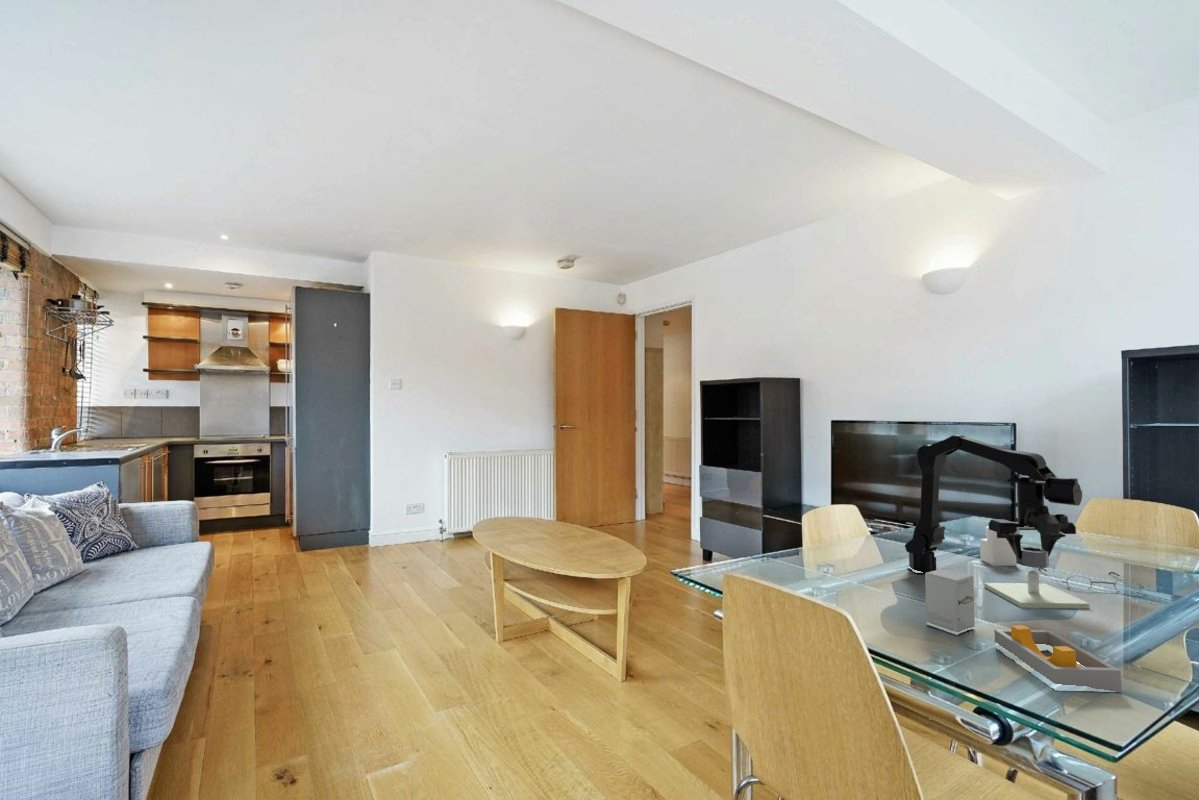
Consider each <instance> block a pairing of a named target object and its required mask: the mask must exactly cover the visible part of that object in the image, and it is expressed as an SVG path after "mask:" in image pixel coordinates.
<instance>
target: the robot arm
mask: <svg viewBox="0 0 1199 800" xmlns="http://www.w3.org/2000/svg"><path fill="white" fill-rule="evenodd" d="M957 451H962V452H965V453H968V454H971V455H975V456H977V457H979V458H983V459H986V460H990V461H993V462H995V463H998V464H1001V465H1003V467H1005V468H1007V469H1008V470H1010V471H1012V472H1014V473H1013V474H1012V476H1011V477H1009V478H1008V479H1007V480H1006V481H1007V483H1011V484H1013V483H1015V484H1016V499H1017V500H1016V502H1014V503H1013V505H1014V507H1016V508H1017V509H1016V510H1017V516H1016V517H1015V516H1014V522H1013V521H1010V520H1007V519H1002V518H1000V519H990V520H989V522H988V526H989V529H990V530H992V531H995V532H998V533H1001V534H1003V535H1004V536H1005V538H1006V539H1007V541H1008V542H1009V544H1010V546H1011V548H1012V550H1013V552H1014V554H1015V556H1016V557H1017V558H1018V559H1021V546H1022V545H1021V544H1022V543H1021V540H1022V539H1023V536H1024V535H1023V534H1020V531H1037V532H1038V533H1039V536H1040V543H1041V544H1040V545H1041V548H1042V549H1045V550H1048V555H1049V557H1050V555H1051V553H1052V551H1053V548H1054V546H1055V544H1056V543H1057V541H1059V540H1060V539H1061V538H1065V537H1066V535H1076V534H1077V527H1076V525H1075V524H1074V523H1073V522H1070V521H1069V518H1068V516H1067V515H1066V514H1065V513H1056V514H1051V513H1050V512H1049V507H1048V505H1045V500H1047V501H1048V502H1049V503H1051V504H1060V505H1066V506H1067V505H1068V506H1076V507H1078V506H1080V505H1081V503H1082V500H1083V490H1082V489H1081V486H1080V484H1079V479H1078V478H1077V477H1069V478H1066V477H1065V478H1064V477H1058V476H1056V474H1055V473H1054V472H1053V471H1052V470H1051V469H1050V468H1049V466H1047V462H1046V460H1045V458H1044V456H1042V455H1041V454H1038V453H1035V452H1029V451H1022V450H1021V451H1020V450H1012V449H1006V448H1003V447H999V446H996V445H993V444H990V443H986V442H984V441H980V440H978V439H977V440H976V439H973V438H970V437H967V436H965V435H964V434H953V435H950V436H949V437H946V438H945V439H942V440H940V441H937V442H935V443H933V444H932V443H931V444H924V445H921V446H920V447H919V448H918V449H917V450H916V459H917V460H916V462H917V465H918V468H919V470H920V473H921V485H920V487H921V488H920V506H919V507H920V508H919V520H918V521H917V523H916V524H915V527H914V530H913V533H912V539H910V540H909V541H908V542H907V543H905V544H904V547H905V550H906V552H907V553H908V566H910V567H911V568H912V569H914V570H917V571H921V572H923V573H927V572H931V571H935V570H937V557H936V556H935V552H936V551H937V549H938V547H939V546H940V545H941V544H942V543H943V540H946V538H945V530H946V526H944V525H941V524H940V523H939V519H938V513H939V494H940V493H939V492H940V475H941V472H942V470H943V469H944V466H945V464H946V461H947V457H948V456H950V455H952V454H953V453H955V452H957Z"/></svg>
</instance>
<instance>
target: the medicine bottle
mask: <svg viewBox="0 0 1199 800" xmlns="http://www.w3.org/2000/svg"><path fill="white" fill-rule="evenodd" d="M979 549H980V550H979V552H980V554H979V555H980V560H981V561H982V562H984V563H986V564H988V565H991V566H992V567H1016V566H1017V564H1018V563H1016V556H1015V554H1014V552H1013V550H1012V548H1011V546H1010V544H1009V542H1008V541H1007V539H1006V538H1005V536H1004V535H1003V534H1001V533H998V532H995V531H992V530H990V529H989V525H986V526H985V538H980V539H979Z"/></svg>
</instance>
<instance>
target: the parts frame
mask: <svg viewBox="0 0 1199 800" xmlns="http://www.w3.org/2000/svg"><path fill="white" fill-rule="evenodd" d="M1031 635H1032V638H1033V641H1034V643H1035V644H1046V645H1050V646H1052V647H1056V646H1067V647H1069V648H1071V649H1074V650H1076V661H1077V662H1079V663H1080V664H1081V665H1083V666H1085V667H1056V666H1055V665H1053V664H1052V663H1050V662H1049V661H1047V660H1046V659H1044V658H1043V657H1041V656H1039V655H1038V654H1036V653H1035V652H1033V651H1032V650H1030V649H1029V648H1027V647H1026V646H1024V645H1023V644H1021V643H1019V642H1018V641H1016V640H1015V639H1013V638H1012V637H1011V629H996V628H994V643H995V642H996V643H998V644H999V645H1000V646H1002V647H1003V648H1005V649H1006V650H1008V651H1009V652H1011V653H1013V654H1014V655H1015V656H1017V657H1018V658H1019V659H1020V660H1022V661H1023V662H1025V663H1026V664H1027V665H1029V666H1030V667H1031V668H1033V669H1034V670H1035V671H1037V672H1039V673H1040V674H1042V675H1043V676H1045V677H1046V678H1047V679H1049V680H1050V681H1052V682H1053V683H1055V684H1062V685H1076V686H1087V687H1091V688H1095V689H1104V690H1110V691H1116V692H1121V693H1122V677H1121V676H1122V674H1121V673H1122V672H1121V670H1120V669H1119V668H1117V667H1116V666H1113V665H1112V664H1110V663H1108V662H1106V661H1105V660H1103V659H1101V658H1100V657H1099V656H1096V655H1094V654H1092V653H1090V652H1089V651H1087V650H1085V649H1083V648H1082V647H1080V646H1078V645H1077V644H1075V643H1074V642H1071V641H1069V640H1068V639H1067V638H1064V637H1063V636H1060V635H1059V634H1056V632H1053V631H1052V630H1049V629H1047V630H1046V629H1031Z"/></svg>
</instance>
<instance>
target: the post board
mask: <svg viewBox="0 0 1199 800" xmlns="http://www.w3.org/2000/svg"><path fill="white" fill-rule="evenodd" d="M983 586H984V588H985V589H986V590H989V591H990V592H992V593H994V594H996V595H998V596H1000V597H1001V598H1003V599H1004V600H1007V601H1008V602H1011V603H1013V604H1014V605H1016V606H1018V607H1019V608H1021V609H1023V608H1027V609H1028V608H1030V609H1034V608H1035V609H1090V603H1089V602H1088V601H1087V602H1086V601H1084V600H1082V599H1080V598H1078V597H1076V596H1073V595H1071V594H1069V593H1067V592H1065V591H1062V590H1060V589H1058V588H1057V587H1053V586H1051V585H1049V584H1047V583H1040V575H1039V573H1038V572H1037V571H1035V570H1030V571H1028V572H1027V583H1026V582H1025V583H1024V582H1023V583H1020V582H1019V583H1017V582H1011V583H1010V582H984V584H983Z"/></svg>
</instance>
